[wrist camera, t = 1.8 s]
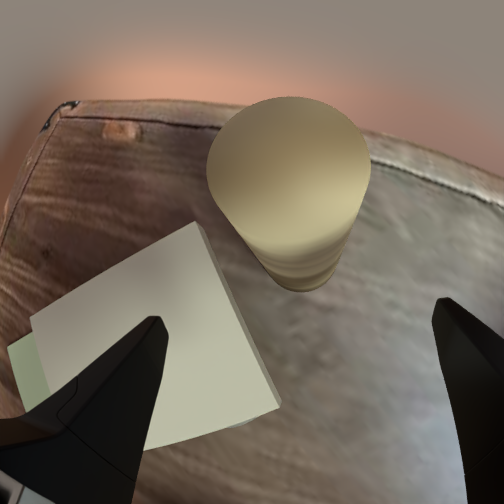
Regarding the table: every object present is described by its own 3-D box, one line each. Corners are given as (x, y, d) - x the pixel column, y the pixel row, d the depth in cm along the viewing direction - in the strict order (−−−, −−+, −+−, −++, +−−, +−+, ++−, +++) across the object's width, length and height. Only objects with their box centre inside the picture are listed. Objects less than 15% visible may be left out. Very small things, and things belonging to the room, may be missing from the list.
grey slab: (288, 399, 19) (283, 415, 15) (110, 454, 20) (82, 467, 16) (211, 232, 23) (192, 214, 19) (59, 315, 24) (28, 311, 20)
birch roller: (350, 271, 21) (402, 191, 8) (284, 305, 21) (246, 270, 8) (316, 209, 22) (316, 78, 10) (253, 240, 22) (185, 137, 10)
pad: (85, 411, 21) (81, 412, 21) (34, 425, 22) (31, 426, 21) (55, 320, 24) (52, 320, 23) (10, 347, 24) (7, 347, 24)
